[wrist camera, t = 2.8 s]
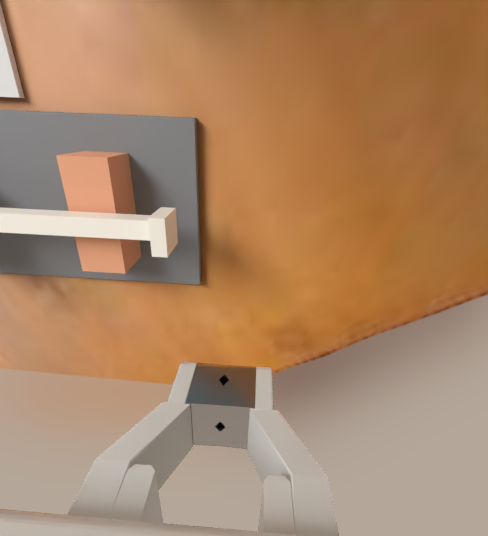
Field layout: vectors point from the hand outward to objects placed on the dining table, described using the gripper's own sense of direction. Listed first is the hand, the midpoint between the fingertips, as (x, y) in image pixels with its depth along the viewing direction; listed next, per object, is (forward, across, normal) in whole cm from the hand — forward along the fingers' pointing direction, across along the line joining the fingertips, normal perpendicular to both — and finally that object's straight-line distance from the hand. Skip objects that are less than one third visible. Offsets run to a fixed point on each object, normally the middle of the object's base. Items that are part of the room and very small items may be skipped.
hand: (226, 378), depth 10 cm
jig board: (+21, +18, 0) cm, 28 cm away
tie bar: (+16, +18, 0) cm, 24 cm away
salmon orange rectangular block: (+20, +13, 0) cm, 24 cm away
